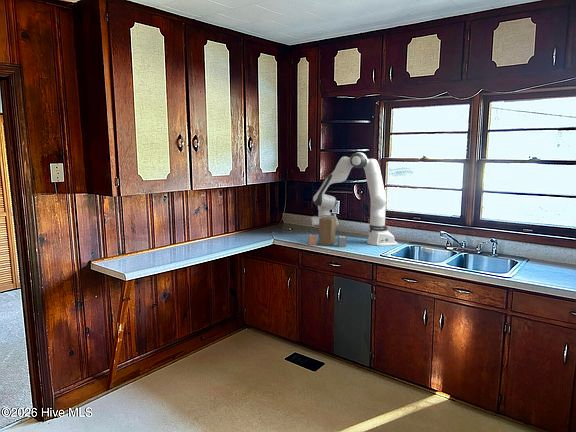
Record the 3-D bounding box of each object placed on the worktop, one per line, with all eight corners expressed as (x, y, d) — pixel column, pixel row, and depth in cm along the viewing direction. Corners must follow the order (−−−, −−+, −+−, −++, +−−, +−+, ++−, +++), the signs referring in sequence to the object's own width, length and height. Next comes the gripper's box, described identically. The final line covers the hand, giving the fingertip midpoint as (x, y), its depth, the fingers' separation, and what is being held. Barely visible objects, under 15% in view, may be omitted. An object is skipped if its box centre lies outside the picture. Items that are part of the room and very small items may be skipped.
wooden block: (318, 244, 312) (318, 218, 309) (322, 242, 321) (323, 216, 318) (331, 246, 308) (331, 219, 305) (335, 243, 317) (336, 217, 314)
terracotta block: (315, 243, 316) (315, 233, 314) (316, 245, 311) (316, 235, 309) (308, 243, 315) (308, 233, 314) (309, 245, 310) (309, 235, 309)
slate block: (344, 245, 311) (345, 235, 310) (346, 247, 306) (346, 237, 305) (337, 245, 311) (338, 235, 309) (339, 247, 306) (339, 237, 304)
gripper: (311, 213, 325) (312, 228, 317) (337, 213, 326) (339, 228, 318) (310, 218, 330) (311, 233, 322) (336, 218, 331) (338, 233, 323)
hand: (325, 231), depth 320 cm, fingers closed
